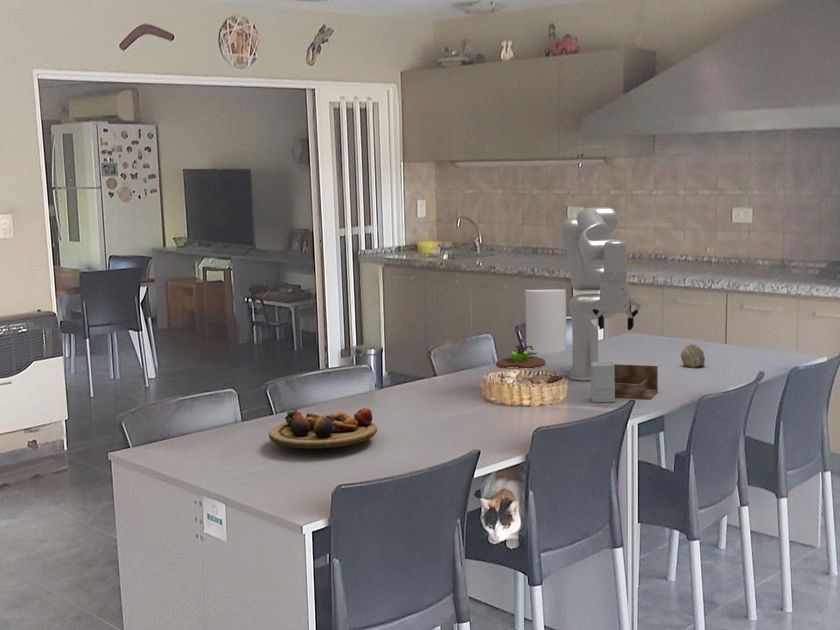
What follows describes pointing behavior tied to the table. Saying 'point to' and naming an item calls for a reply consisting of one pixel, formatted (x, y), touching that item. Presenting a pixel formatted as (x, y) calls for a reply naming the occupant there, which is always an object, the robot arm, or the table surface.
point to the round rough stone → (692, 356)
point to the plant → (521, 359)
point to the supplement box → (602, 382)
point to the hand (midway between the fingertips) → (615, 329)
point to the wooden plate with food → (323, 430)
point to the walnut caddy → (636, 381)
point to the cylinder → (546, 320)
